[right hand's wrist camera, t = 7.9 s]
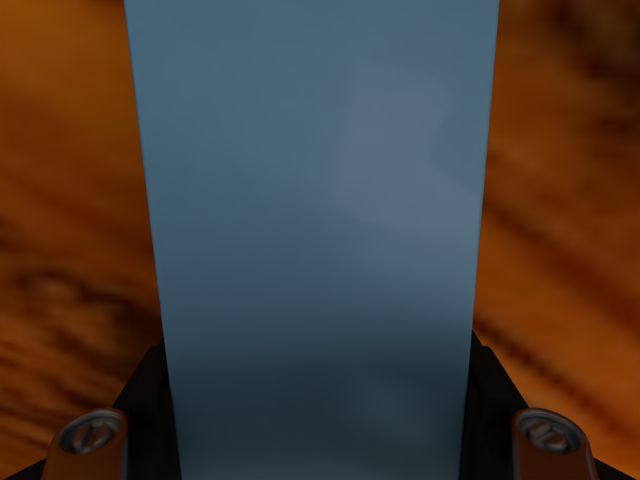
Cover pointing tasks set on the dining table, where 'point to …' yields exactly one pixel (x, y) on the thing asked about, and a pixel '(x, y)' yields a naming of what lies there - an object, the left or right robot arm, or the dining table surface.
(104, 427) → the right robot arm
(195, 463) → the blue slab
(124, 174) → the dining table surface
